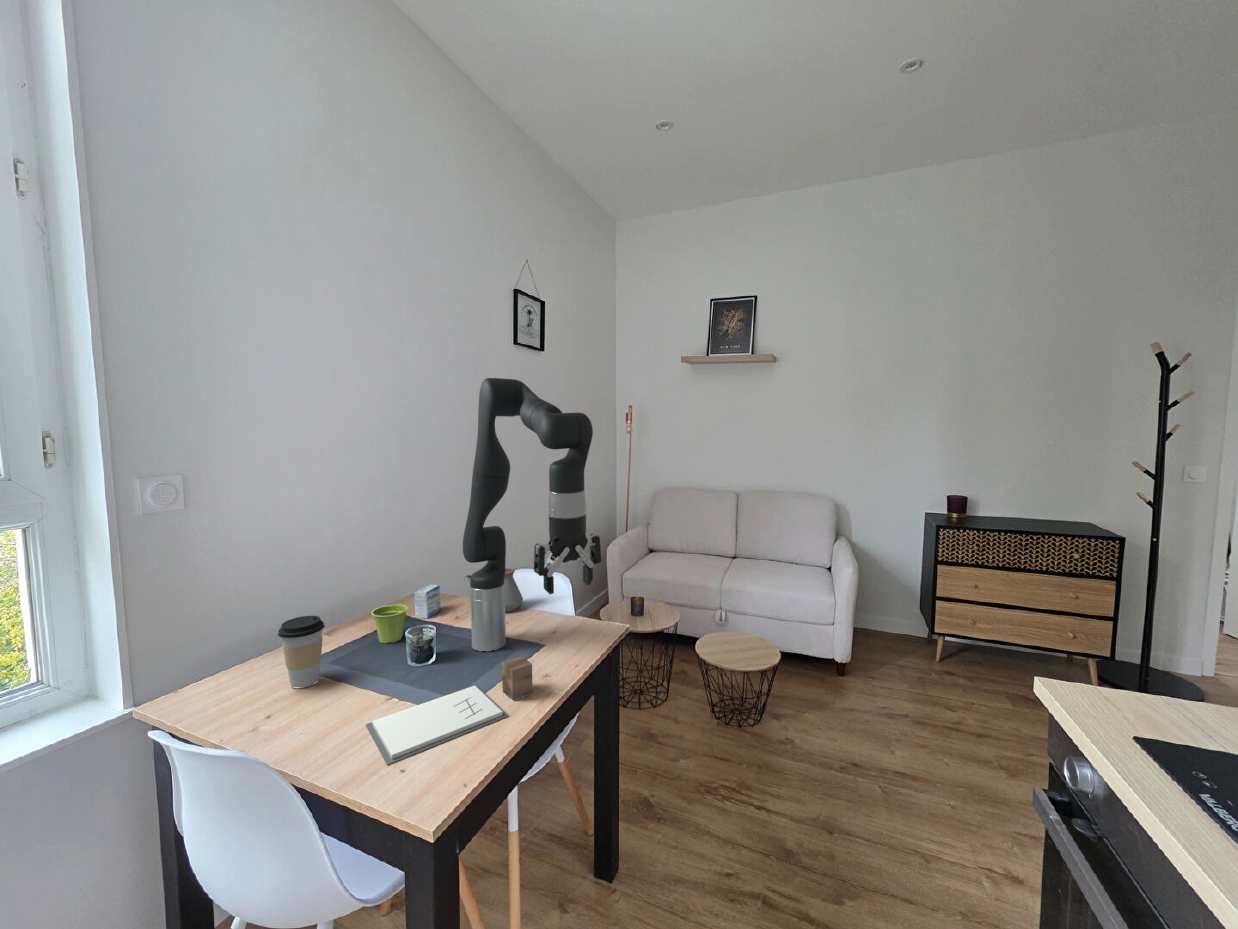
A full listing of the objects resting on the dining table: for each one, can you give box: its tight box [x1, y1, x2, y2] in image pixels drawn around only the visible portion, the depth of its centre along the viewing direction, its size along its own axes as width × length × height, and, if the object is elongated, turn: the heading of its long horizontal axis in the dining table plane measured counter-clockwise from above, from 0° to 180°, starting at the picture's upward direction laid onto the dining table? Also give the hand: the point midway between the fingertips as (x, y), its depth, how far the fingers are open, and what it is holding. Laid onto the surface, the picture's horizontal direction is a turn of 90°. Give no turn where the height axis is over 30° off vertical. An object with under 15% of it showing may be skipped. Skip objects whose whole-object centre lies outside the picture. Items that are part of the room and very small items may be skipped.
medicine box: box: [413, 584, 441, 620], centre depth 164 cm, size 8×4×9 cm, turn 168°
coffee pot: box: [463, 568, 524, 613], centre depth 165 cm, size 21×12×15 cm, turn 143°
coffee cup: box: [277, 615, 325, 688], centre depth 120 cm, size 9×9×15 cm
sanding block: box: [501, 655, 534, 701], centre depth 115 cm, size 5×5×7 cm
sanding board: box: [365, 685, 510, 766], centre depth 104 cm, size 16×24×1 cm, turn 129°
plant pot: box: [371, 604, 408, 644], centre depth 145 cm, size 9×9×9 cm
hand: (568, 588), depth 104 cm, fingers open, 8 cm apart
